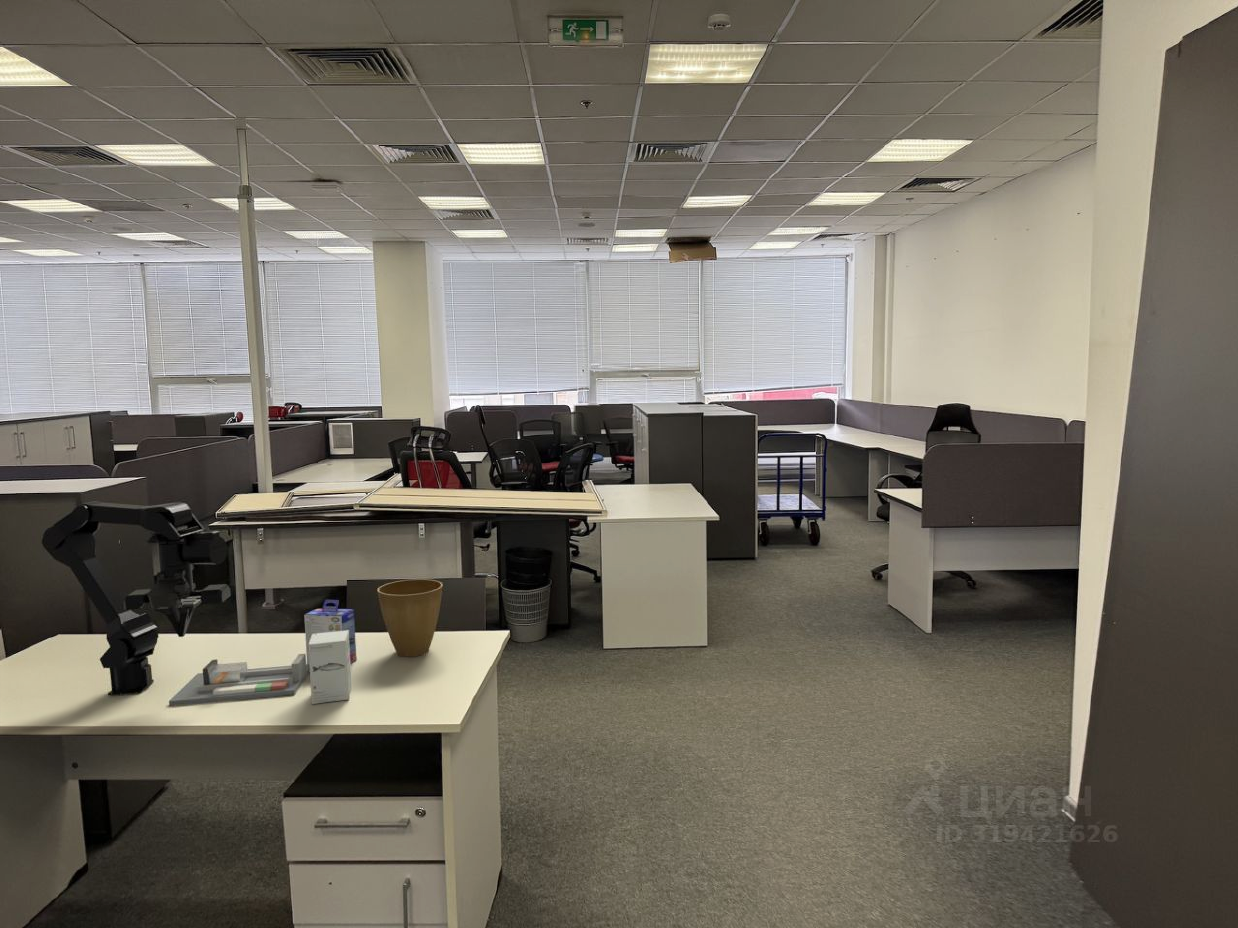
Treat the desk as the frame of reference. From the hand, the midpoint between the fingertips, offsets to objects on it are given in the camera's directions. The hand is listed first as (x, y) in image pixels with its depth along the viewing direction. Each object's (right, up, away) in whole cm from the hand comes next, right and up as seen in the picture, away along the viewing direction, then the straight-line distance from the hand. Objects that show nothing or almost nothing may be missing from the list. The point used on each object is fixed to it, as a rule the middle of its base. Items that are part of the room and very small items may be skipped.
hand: (181, 636), depth 157 cm
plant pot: (+43, -9, +21) cm, 49 cm away
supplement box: (+33, -12, -3) cm, 35 cm away
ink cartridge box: (+26, -10, +16) cm, 32 cm away
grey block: (+9, -10, 0) cm, 13 cm away
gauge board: (+12, -11, +3) cm, 17 cm away
